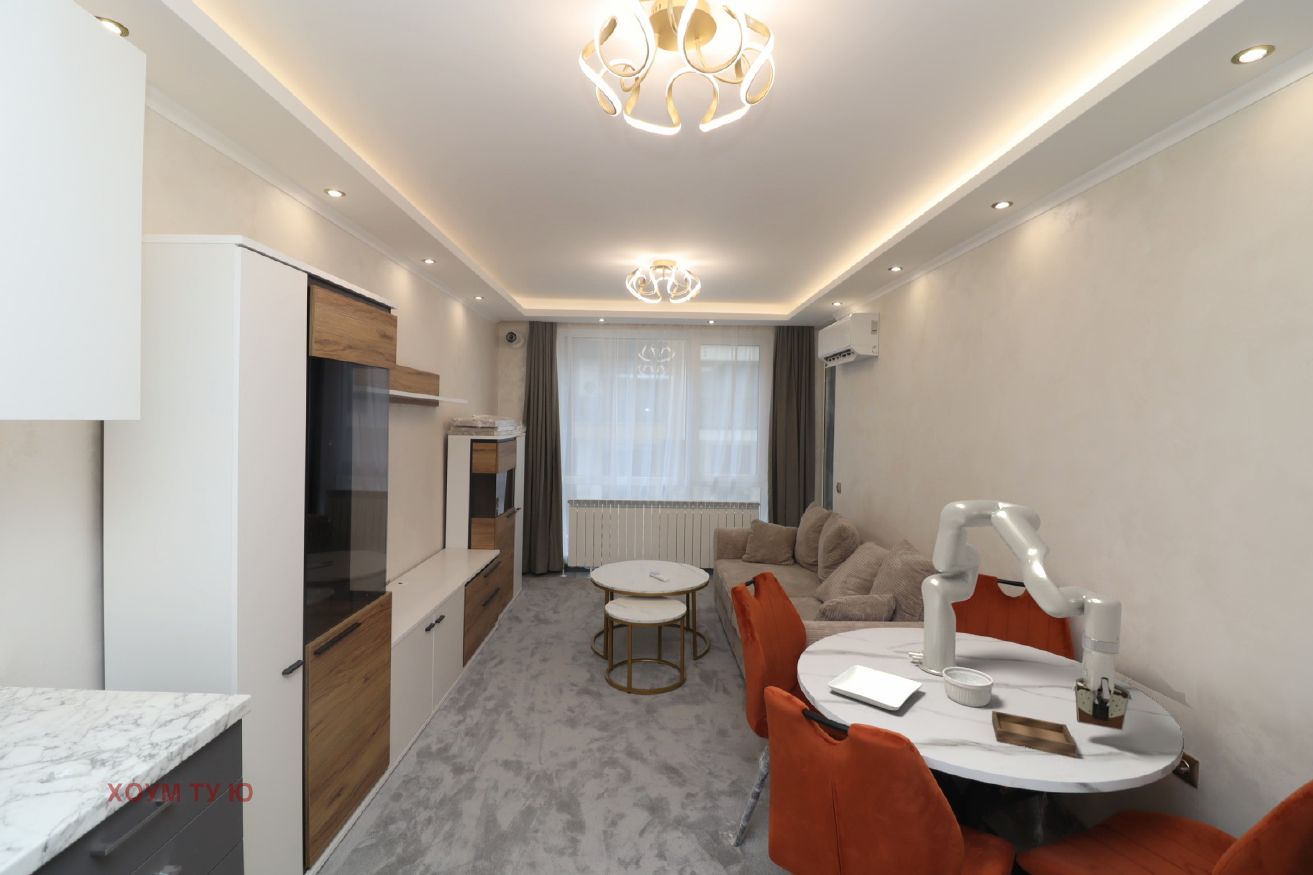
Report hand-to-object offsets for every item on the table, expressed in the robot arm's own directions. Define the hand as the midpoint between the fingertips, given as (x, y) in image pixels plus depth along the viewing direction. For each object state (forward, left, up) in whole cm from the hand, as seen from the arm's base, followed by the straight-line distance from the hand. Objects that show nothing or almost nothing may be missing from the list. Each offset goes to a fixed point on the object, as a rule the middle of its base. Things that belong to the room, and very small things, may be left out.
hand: (1096, 713), depth 145 cm
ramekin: (-28, +12, -8) cm, 32 cm away
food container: (0, +1, -2) cm, 3 cm away
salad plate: (-53, +3, -8) cm, 54 cm away
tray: (-15, -6, -7) cm, 18 cm away
